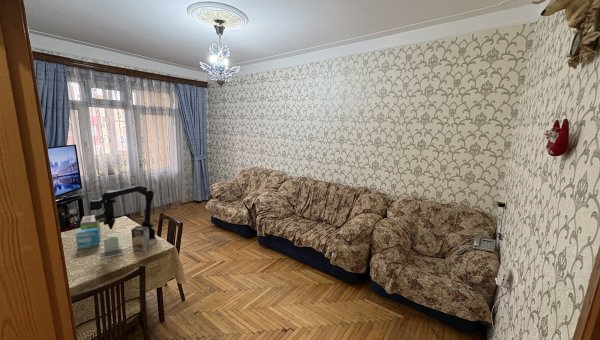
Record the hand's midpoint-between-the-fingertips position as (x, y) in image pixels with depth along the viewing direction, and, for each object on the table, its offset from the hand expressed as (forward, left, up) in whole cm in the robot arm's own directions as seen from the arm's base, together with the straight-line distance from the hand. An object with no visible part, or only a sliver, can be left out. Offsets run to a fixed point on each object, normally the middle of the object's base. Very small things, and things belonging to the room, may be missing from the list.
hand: (111, 228), depth 182 cm
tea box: (+14, -21, -13) cm, 28 cm away
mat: (0, +14, -12) cm, 19 cm away
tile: (0, +8, -13) cm, 15 cm away
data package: (+14, -5, -13) cm, 20 cm away
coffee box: (-17, +15, -13) cm, 27 cm away
